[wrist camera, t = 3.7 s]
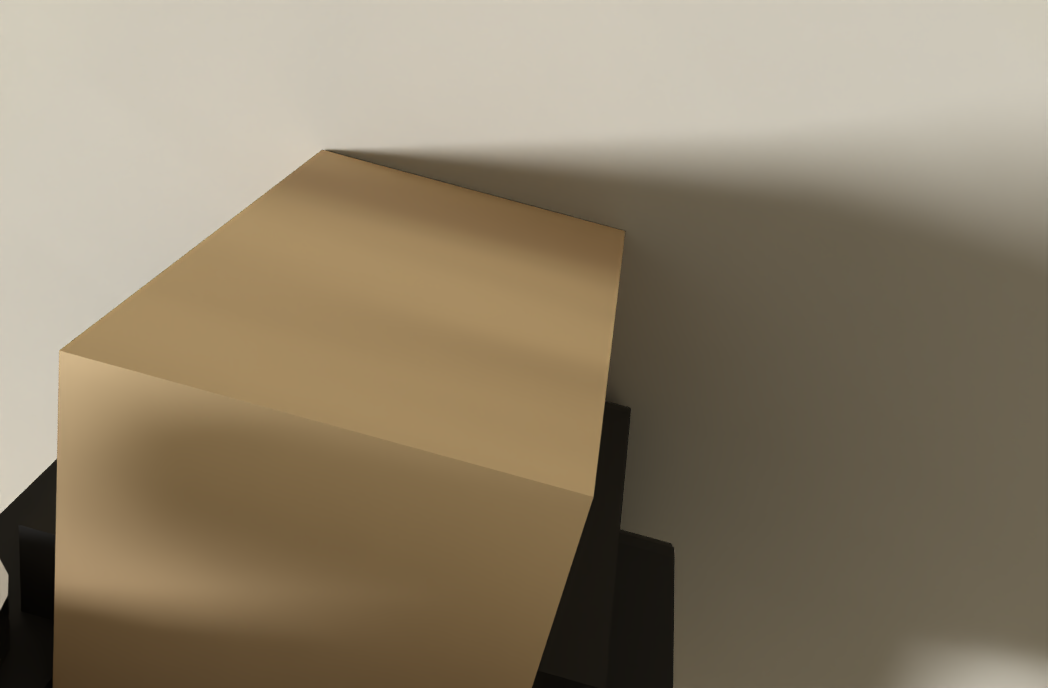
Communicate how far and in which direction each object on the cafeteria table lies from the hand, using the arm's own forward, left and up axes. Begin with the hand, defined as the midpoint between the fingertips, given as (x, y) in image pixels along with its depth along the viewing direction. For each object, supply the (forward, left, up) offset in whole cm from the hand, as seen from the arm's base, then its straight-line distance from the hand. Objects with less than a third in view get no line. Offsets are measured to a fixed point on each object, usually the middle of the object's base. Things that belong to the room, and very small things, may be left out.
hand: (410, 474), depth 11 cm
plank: (+7, 0, 0) cm, 7 cm away
